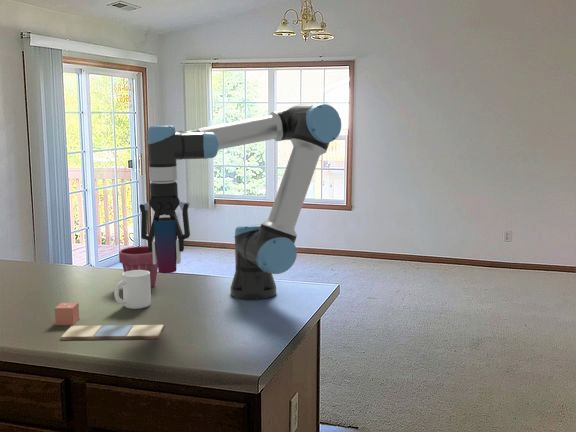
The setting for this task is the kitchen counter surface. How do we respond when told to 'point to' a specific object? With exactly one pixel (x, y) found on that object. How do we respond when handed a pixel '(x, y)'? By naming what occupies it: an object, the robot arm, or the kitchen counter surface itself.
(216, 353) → the kitchen counter surface
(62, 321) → the die
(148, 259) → the plant pot
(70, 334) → the multicoloured flat piece
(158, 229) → the cup
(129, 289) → the mug
